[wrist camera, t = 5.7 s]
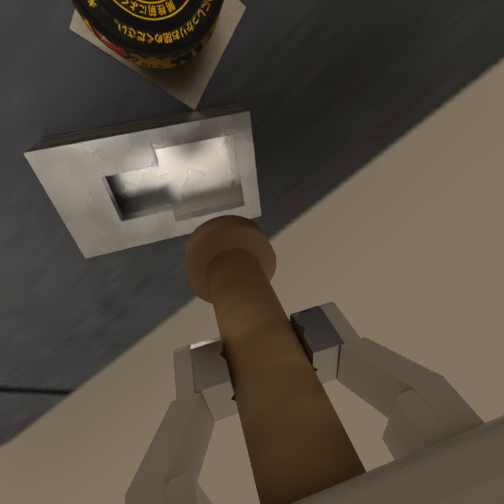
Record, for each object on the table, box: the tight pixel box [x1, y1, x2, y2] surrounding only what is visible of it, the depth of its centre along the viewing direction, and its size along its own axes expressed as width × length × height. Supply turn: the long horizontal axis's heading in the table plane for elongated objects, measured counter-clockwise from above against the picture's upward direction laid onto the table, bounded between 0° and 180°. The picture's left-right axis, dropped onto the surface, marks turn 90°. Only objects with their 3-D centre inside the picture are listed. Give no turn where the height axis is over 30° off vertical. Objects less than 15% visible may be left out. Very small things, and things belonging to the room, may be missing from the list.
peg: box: [184, 215, 366, 504], centre depth 10 cm, size 4×4×10 cm
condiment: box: [69, 0, 246, 110], centre depth 14 cm, size 7×8×12 cm
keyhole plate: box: [24, 103, 261, 259], centre depth 22 cm, size 14×8×4 cm, turn 97°
